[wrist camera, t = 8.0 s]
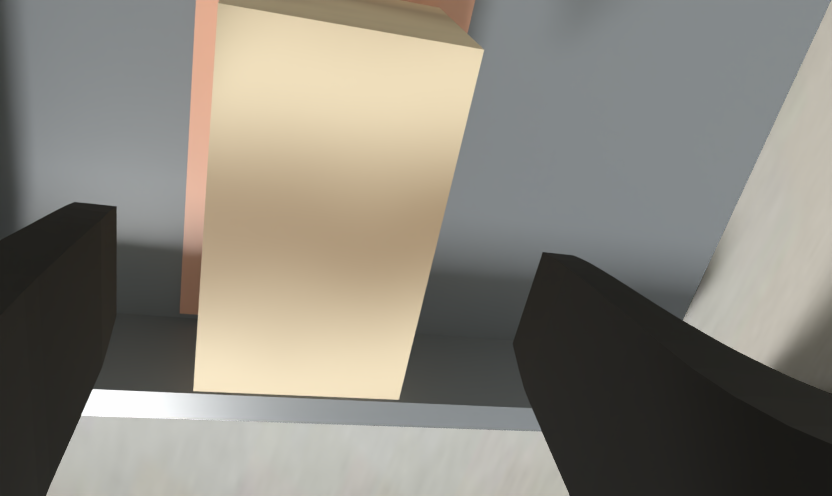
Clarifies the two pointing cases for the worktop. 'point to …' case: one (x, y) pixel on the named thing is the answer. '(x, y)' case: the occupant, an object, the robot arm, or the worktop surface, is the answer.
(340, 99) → the maple bar
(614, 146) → the board
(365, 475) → the worktop surface
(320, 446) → the worktop surface
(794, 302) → the worktop surface
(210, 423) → the worktop surface
